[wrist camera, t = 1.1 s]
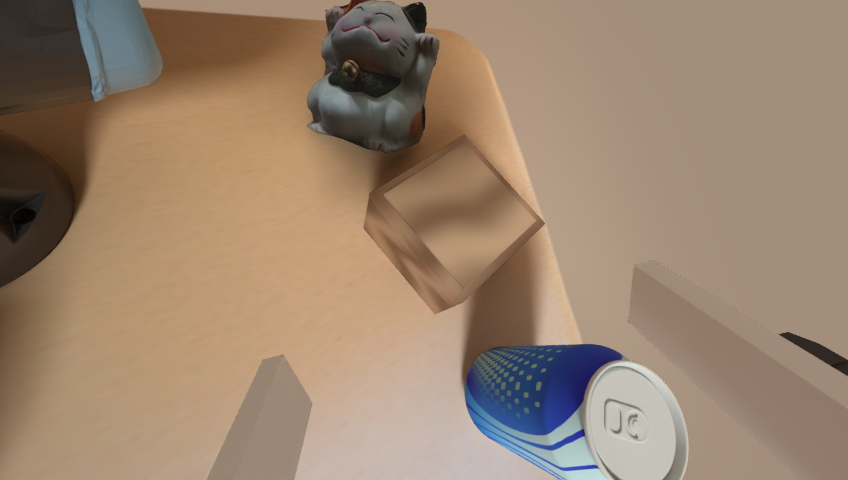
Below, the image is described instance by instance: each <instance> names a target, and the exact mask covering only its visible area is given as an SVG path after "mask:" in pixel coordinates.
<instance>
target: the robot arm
mask: <svg viewBox="0 0 848 480" xmlns="http://www.w3.org/2000/svg"><path fill="white" fill-rule="evenodd" d="M162 69H163V61H162V57H161V54H160V51H159V49H158V47H157V44H156V42H155V39H154V37H153V35H152V32H151V30H150V28H149V25H148V23H147V21H146V18H145V16H144V13H143V11H142V9H141V6H140V4H139V2H138V0H0V115H6V114H12V113H18V112H24V111H29V110H35V109H41V108H47V107H53V106H59V105H64V104H70V103H76V102H82V101H88V100H93V101H95V102H97V101H100V100H103V99H105V97H106V96H107V95H111V94H116V93H120V92H125V91H129V90H133V89H138V88H142V87H147V86H149V85H151V84H153V83H155V82H156V81H157V80H158V78H159V76H160V75H161V73H162ZM73 205H74V196H73V190H72V186H71V183H70V181H69V179H68V177H67V175H66V174H65V172H64V171H63V170H62V168H61V167H60V166H59V165H58V164H57V163H56V162H54V161H53V160H52V159H51V158H49V157H48V156H46V155H45V154H43V153H42V152H40V151H39V150H37V149H36V148H34V147H33V146H31V145H30V144H28V143H27V142H25V141H23V140H21V139H19V138H17V137H15V136H13V135H11V134H9V133H6V132H4V131H1V130H0V287H2V286H4V285H6V284H8V283H9V282H11V281H13V280H15V279H16V278H18V277H19V276H21V275H22V274H24V273H25V272H27V271H28V270H30V269H31V268H32V267H34V266H35V265H36V264H37V263H39V262H40V261H41V260H42V259H43V258H44V257H45V256H46V255H47V254H48V253H49V252H50V251H51V250H52V249H53V248H54V246H55V245H56V244H57V243H58V241H59V240H60V239H61V237H62V235H63V234H64V232H65V230H66V228H67V226H68V224H69V222H70V219H71V216H72V212H73ZM628 322H629V323H630V324H631V325H632V326H633V327H634V328H635V329H636V330H638V331H639V332H640V333H641V334H642V335H643V336H644V337H645V338H646V339H647V340H648V341H649V342H650V343H652V344H653V345H654V346H655V347H656V348H657V349H658V350H659V351H660V352H661V353H662V354H663V355H665V356H666V357H667V358H668V359H669V360H670V361H671V362H672V363H673V364H674V365H675V366H676V367H677V368H679V369H680V370H681V371H682V372H683V373H684V374H685V375H686V376H687V377H688V378H689V379H690V380H692V381H693V382H694V383H695V384H696V385H697V386H698V387H699V388H700V389H701V390H702V391H703V392H705V393H706V394H707V395H708V396H709V397H710V398H711V399H712V400H713V401H714V402H715V403H716V404H717V405H719V406H720V407H721V408H722V409H723V410H724V411H725V412H726V413H727V414H728V415H729V416H730V417H732V418H733V419H734V420H735V421H736V422H737V423H738V424H739V425H740V426H741V427H742V428H744V430H746V431H747V432H748V433H749V434H750V435H751V436H752V437H753V438H754V439H755V440H757V442H759V443H760V444H761V445H762V446H763V447H764V448H765V449H766V450H767V451H768V452H769V453H770V454H771V455H773V456H774V457H775V458H776V459H777V460H778V461H779V462H780V463H781V464H782V465H783V466H784V467H786V468H787V469H788V470H789V471H790V472H791V473H792V474H793V475H794V476H795V477H796V478H797V479H798V480H848V360H847V359H845V358H843V357H842V356H839V355H838V354H836V353H835V352H832V351H831V350H829V349H827V348H826V347H824V346H822V345H820V344H818V343H816V342H813V341H810V340H808V339H805V338H802V337H800V336H797V335H794V334H791V333H789V332H787V333H782V334H777V333H775V332H773V331H772V330H770V329H768V328H767V327H765V326H764V325H762V324H760V323H759V322H757V321H755V320H754V319H752V318H750V317H748V316H747V315H745V314H744V313H742V312H740V311H739V310H737V309H735V308H734V307H732V306H730V305H729V304H727V303H725V302H724V301H722V300H720V299H719V298H717V297H715V296H714V295H712V294H710V293H709V292H707V291H706V290H704V289H702V288H701V287H698V286H697V285H696V284H694V283H692V282H690V281H689V280H687V279H686V278H684V277H682V276H681V275H679V274H677V273H676V272H674V271H672V270H671V269H669V268H667V267H666V266H664V265H662V264H661V263H659V262H658V261H656V260H651V261H647V262H643V263H639V264H635V265H634V269H633V279H632V289H631V298H630V307H629V317H628ZM311 407H312V401H311V400H310V398H309V396H308V395H307V393H306V391H305V390H304V388H303V386H302V385H301V383H300V381H299V380H298V378H297V376H296V375H295V373H294V372H293V370H292V368H291V367H290V365H289V363H288V362H287V360H286V358H285V357H284V355H280V356H276V357H272V358H268V359H264V360H262V362H261V365H260V367H259V369H258V371H257V373H256V375H255V377H254V380H253V382H252V384H251V386H250V388H249V390H248V392H247V394H246V397H245V399H244V401H243V403H242V405H241V407H240V409H239V412H238V414H237V416H236V418H235V420H234V422H233V424H232V427H231V429H230V431H229V433H228V435H227V437H226V439H225V441H224V444H223V446H222V448H221V450H220V452H219V454H218V456H217V459H216V461H215V463H214V465H213V467H212V469H211V471H210V474H209V476H208V478H207V480H294V478H295V474H296V470H297V465H298V461H299V457H300V453H301V449H302V445H303V440H304V436H305V432H306V428H307V424H308V420H309V415H310V411H311Z"/></svg>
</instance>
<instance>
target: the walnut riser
mask: <svg viewBox="0 0 848 480" xmlns="http://www.w3.org/2000/svg"><path fill="white" fill-rule="evenodd" d="M544 224H545V223H544V222H543V220H542V219H541V218H540V217H539V216H538V215H537V214H536V213H535V212H534V211H533V210H532V208H531V207H530V206H529V205H528V204H527V203H526V202H525V201H524V200H523V199H522V198H521V196H520V195H519V194H518V193H517V192H516V191H515V190H514V189H513V188H512V187H511V186H510V184H509V183H508V182H507V181H506V180H505V179H504V178H503V177H502V176H501V175H500V173H499V172H498V171H497V170H496V169H495V168H494V167H493V166H492V165H491V164H490V163H489V161H488V160H487V159H486V158H485V157H484V156H483V155H482V154H481V153H480V152H479V151H478V149H477V148H476V147H475V146H474V145H473V144H472V143H471V142H470V141H469V140H468V139H467V137H466V136H465V135H463V136H461V137H460V138H458V139H456V140H455V141H453V142H452V143H450V144H448V145H447V146H445V147H444V148H442V149H440V150H439V151H437V152H436V153H434V154H432V155H431V156H429V157H428V158H426V159H424V160H423V161H421V162H420V163H418V164H416V165H415V166H413V167H412V168H410V169H408V170H407V171H405V172H404V173H402V174H400V175H399V176H397V177H396V178H394V179H392V180H391V181H389V182H388V183H386V184H384V185H383V186H381V187H380V188H378V189H376V190H375V191H373V192H372V193H370V197H369V202H368V208H367V214H366V219H365V225H364V229H365V230H366V232H367V233H368V234H369V235H370V236H371V238H372V239H373V240H374V241H375V242H376V244H377V245H378V246H379V247H380V248H381V250H382V251H383V252H384V253H385V254H386V256H387V257H388V258H389V259H390V261H391V262H392V263H393V264H394V265H395V267H396V268H397V269H398V270H399V271H400V273H401V274H402V275H403V276H404V277H405V279H406V280H407V281H408V282H409V283H410V285H411V286H412V287H413V288H414V289H415V291H416V292H417V293H418V294H419V296H420V297H421V298H422V299H423V300H424V302H425V303H426V304H427V305H428V306H429V308H430V309H431V310H432V311H433V312H434V314H436V313H439V312H441V311H444V310H446V309H449V308H451V307H454V306H456V305H458V304H461V303H463V302H464V301H465V300H466V299H467V298H468V297H469V296H470V295H471V294H472V293H473V292H474V291H475V290H476V289H477V288H478V287H480V286H481V285H482V284H483V283H484V282H485V281H486V280H487V279H488V278H489V277H490V276H491V275H492V274H493V273H494V272H495V271H496V270H497V269H498V268H499V267H500V266H501V265H502V264H504V263H505V262H506V261H507V260H508V259H509V258H510V257H511V256H512V255H513V254H514V253H515V252H516V251H517V250H518V249H519V248H520V247H521V246H522V245H523V244H524V243H525V242H526V241H528V240H529V239H530V238H531V237H532V236H533V235H534V234H535V233H536V232H537V231H538V230H539V229H540V228H541V227H542V226H543V225H544Z"/></svg>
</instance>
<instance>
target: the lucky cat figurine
mask: <svg viewBox="0 0 848 480" xmlns="http://www.w3.org/2000/svg"><path fill="white" fill-rule="evenodd" d="M325 11H326V22H327V27H328V34H327V35H326V37H325V38H324V41H323V44H322V46H323V48H322V57H323V59H324V60H325V62H326V70H325V75H324V77H323V78H322V79H320V80H319V81H318V82H317V83H316V84H315V85H314V86H312V88H311V89H310V91H309V93H308V97H307V104H308V108H309V109H310V110H311V112H312V114H313V123H312V124H308V125H307V127H309V128H310V129H312V130H313V131H315V132H317V133H321V134H325V135H331V136H335V137H338V138H341V139H344V140H346V141H349V142H351V143H354V144H356V145H359V146H361V147H364V148H366V149H371V150H377V151H383V152H394V151H398V150H400V149H404V148H407V147H410V146H412V145H414V144H417V143H418V142H419V141H420V139H421V136H422V135H423V131H424V129H425V107H424V101H425V96H426V90H427V87H428V83H429V80H430V77H431V73H432V69H433V67H434V66H435V64H436V60H437V53H438V50H439V40H438V39H437V37H436V36H434V35H433V34H432V33H430V34H429V33H425V28H426V24H427V22H426V9H425V6H424V5H423V3H421V2H417V3H413V4H410V5H408V6H406V7H401V6H399V5H396V4H395V3H394V2H391V1H384V2H383V1H376V0H351V2H350V4H348V5H345V6H341V7H337V6H334V7H333V9H330V10H325Z"/></svg>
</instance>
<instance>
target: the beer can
mask: <svg viewBox="0 0 848 480" xmlns="http://www.w3.org/2000/svg"><path fill="white" fill-rule="evenodd" d="M465 401H466V406H467V410H468V412H469V415H470V417H471V419H472V421H473V422H474V424H475V425H476V427H477V428H478V429H479V430H480V431H481V432H482V433H483V434H484V435H485V436H487V437H488V438H490V439H492V440H493V441H495V442H497V443H498V444H500V445H502V446H504V447H505V448H507V449H509V450H510V451H512V452H514V453H516V454H517V455H519V456H521V457H522V458H524V459H526V460H528V461H529V462H531V463H533V464H534V465H536V466H538V467H540V468H541V469H543V470H545V471H546V472H548V473H550V474H552V475H553V476H555V477H557V478H558V479H560V480H682V478H683V476H684V473H685V470H686V466H687V461H688V434H687V429H686V424H685V420H684V417H683V414H682V411H681V409H680V407H679V404H678V402H677V400H676V398H675V396H674V395H673V393H672V392H671V390H670V389H669V387H668V386H667V385H666V383H665V382H664V381H663V380H662V379H661V378H660V377H659V376H658V375H657V374H656V373H655V372H653V371H652V370H651V369H649V368H648V367H646V366H644V365H642V364H640V363H637V362H634V361H630V360H629V359H627V358H626V357H625V356H623V355H622V354H620V353H619V352H616V351H614V350H613V349H610V348H607V347H604V346H601V345H594V344H578V345H548V346H518V347H496V348H492V349H489V350H487V351H485V352H483V353H482V354H481V355H479V356H478V357H477V358H476V360H475V361H474V362H473V364H472V365H471V367H470V369H469V371H468V374H467V377H466V382H465Z"/></svg>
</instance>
